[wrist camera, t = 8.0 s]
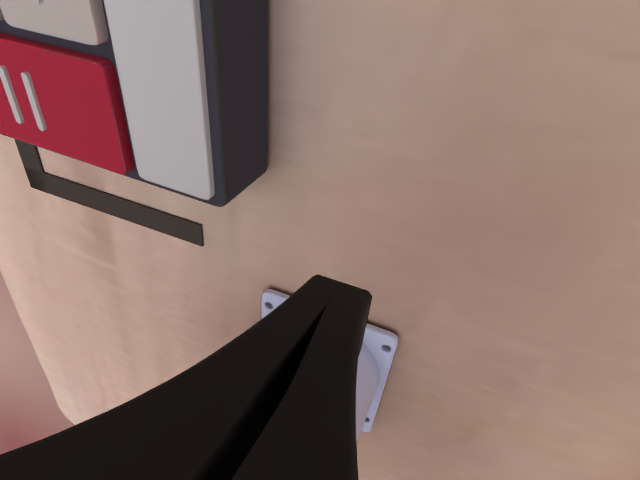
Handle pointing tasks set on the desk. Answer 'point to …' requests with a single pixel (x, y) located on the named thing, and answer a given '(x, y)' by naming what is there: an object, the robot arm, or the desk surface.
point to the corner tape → (105, 200)
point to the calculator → (141, 88)
